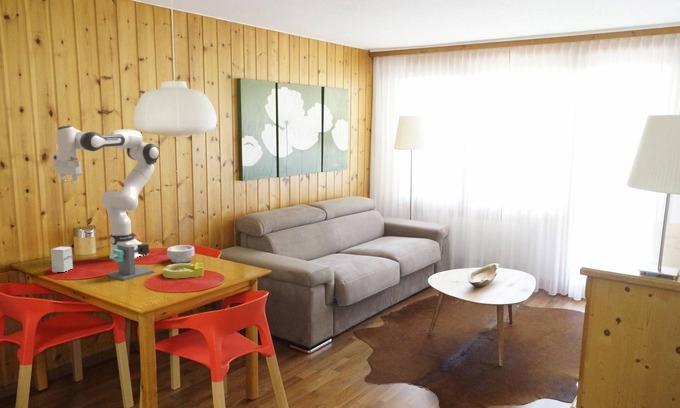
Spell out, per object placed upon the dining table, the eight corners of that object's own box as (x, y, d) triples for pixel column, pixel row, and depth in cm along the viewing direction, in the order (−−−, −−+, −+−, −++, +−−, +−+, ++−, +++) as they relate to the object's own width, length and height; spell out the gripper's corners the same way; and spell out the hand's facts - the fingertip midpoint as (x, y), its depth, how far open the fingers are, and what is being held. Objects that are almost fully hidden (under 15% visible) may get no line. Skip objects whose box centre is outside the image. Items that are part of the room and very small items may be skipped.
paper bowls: (162, 260, 311) (162, 247, 310) (187, 256, 321) (187, 243, 320) (174, 266, 300) (173, 252, 299) (199, 261, 310) (198, 248, 309)
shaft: (144, 252, 291) (143, 243, 290) (148, 253, 289) (148, 244, 288) (110, 260, 275) (110, 250, 274) (115, 261, 273) (115, 251, 272)
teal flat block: (117, 259, 279) (116, 249, 278) (123, 261, 276) (123, 250, 275) (113, 260, 277) (112, 249, 276) (120, 262, 274) (119, 251, 273)
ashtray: (202, 278, 279) (202, 269, 278) (161, 280, 275) (160, 271, 274) (204, 269, 295) (204, 261, 294) (164, 271, 290) (164, 262, 290)
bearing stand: (137, 268, 295) (136, 239, 292) (153, 272, 287) (152, 243, 284) (107, 275, 280) (106, 246, 277) (124, 280, 272) (122, 250, 270)
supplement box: (64, 273, 283) (62, 250, 281) (51, 272, 284) (50, 249, 282) (73, 269, 290) (72, 246, 288) (61, 268, 292) (60, 245, 290)
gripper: (84, 157, 279) (85, 183, 281) (62, 155, 290) (64, 180, 292) (72, 158, 273) (74, 185, 276) (51, 156, 285) (53, 181, 287)
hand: (69, 182), depth 284 cm, fingers open, 8 cm apart
